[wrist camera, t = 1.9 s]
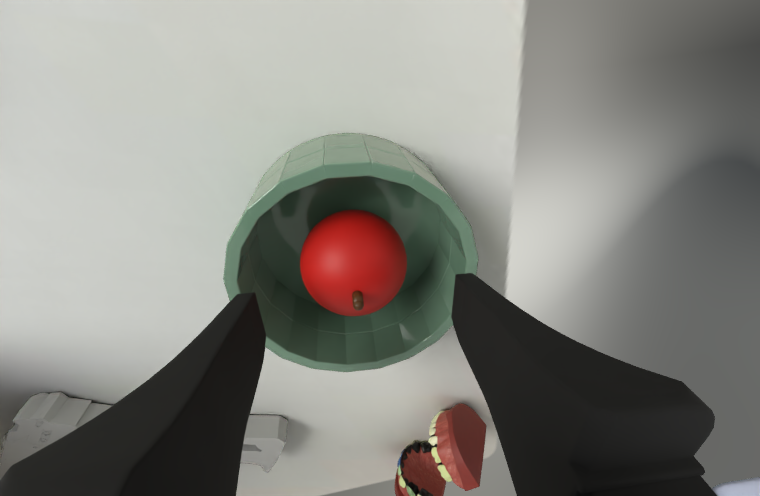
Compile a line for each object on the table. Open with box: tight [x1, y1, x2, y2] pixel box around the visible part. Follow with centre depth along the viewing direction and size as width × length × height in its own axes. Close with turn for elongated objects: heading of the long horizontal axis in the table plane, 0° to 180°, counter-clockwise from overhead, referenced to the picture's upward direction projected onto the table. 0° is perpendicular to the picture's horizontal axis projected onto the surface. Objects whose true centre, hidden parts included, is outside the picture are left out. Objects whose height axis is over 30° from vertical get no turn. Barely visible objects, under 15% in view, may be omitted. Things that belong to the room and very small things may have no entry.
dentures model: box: [395, 404, 486, 496], centre depth 25 cm, size 6×4×8 cm
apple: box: [300, 210, 407, 316], centre depth 15 cm, size 5×5×5 cm
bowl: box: [223, 133, 478, 372], centre depth 16 cm, size 10×10×4 cm
